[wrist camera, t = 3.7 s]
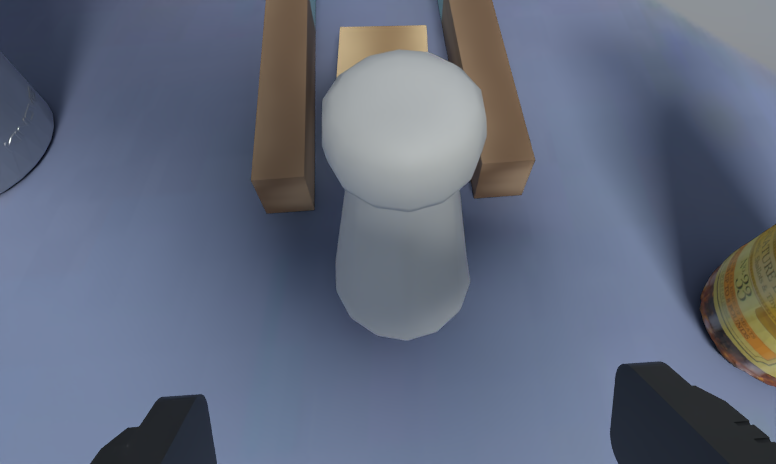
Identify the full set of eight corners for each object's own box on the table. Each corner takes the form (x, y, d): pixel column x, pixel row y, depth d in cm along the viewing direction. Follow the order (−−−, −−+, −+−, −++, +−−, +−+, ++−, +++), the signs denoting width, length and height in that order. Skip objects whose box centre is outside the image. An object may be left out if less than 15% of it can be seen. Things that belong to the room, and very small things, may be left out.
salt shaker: (316, 307, 23) (229, 114, 11) (387, 220, 25) (373, -14, 14) (420, 380, 21) (441, 239, 10) (486, 279, 23) (567, 68, 12)
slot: (266, 213, 25) (250, 180, 23) (277, 33, 32) (266, -9, 29) (521, 194, 25) (535, 159, 23) (478, 19, 32) (485, -24, 30)
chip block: (341, 128, 28) (335, 90, 26) (345, 67, 31) (340, 27, 28) (427, 126, 28) (429, 88, 26) (424, 66, 31) (426, 25, 28)
